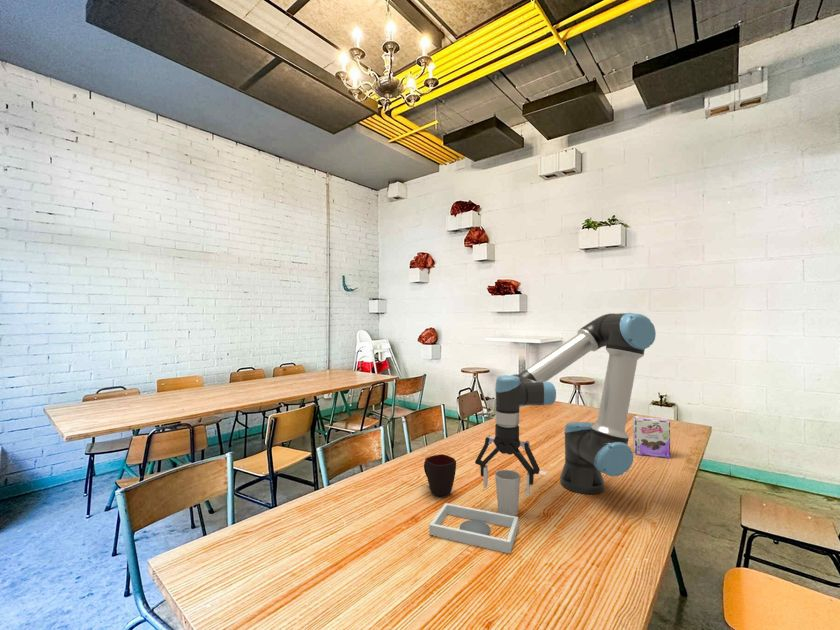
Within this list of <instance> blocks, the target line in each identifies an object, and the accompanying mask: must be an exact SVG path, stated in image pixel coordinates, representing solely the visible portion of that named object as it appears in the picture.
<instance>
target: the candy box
mask: <svg viewBox="0 0 840 630" xmlns="http://www.w3.org/2000/svg"><path fill="white" fill-rule="evenodd" d="M632 439H633V444H632V445H633V446H632V447H633V448H632V449H633V450H632V451H633V454H634V455H637V456H643V457H644V456H647V457H655V458H660V459H661V458H663V459H671V422H670V420H669V419H668V418H661V417H649V416H647V417H646V416H637V415H633V437H632Z"/></svg>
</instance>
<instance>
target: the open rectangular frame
mask: <svg viewBox="0 0 840 630" xmlns="http://www.w3.org/2000/svg"><path fill="white" fill-rule="evenodd" d="M447 516H453V517H458V518H463V519H467V520H468V519H469V520H478V521H482V522H484V523H486V524H492V525H496V526H502V527H505V528H506V527H507V528H510V530H509V533H508V536H507V539H506V538H501V537H497V536H494V535H493V536H492V535H489V536H488V535H483V534H479V533H474V532H470V531H465V530H460V528H455V527H449V526H445V525H440V524H442V523H443V522H444V520H445V519H446V517H447ZM428 525H429V528H428V529H429V535H428V536H431V535H433V536H432V537H435V536H438V537H437V538H439V537H441V538H440V539H444V538H445V539H444V540H448V539H449V540H448V541H453V542H457V541H458V542H457V543H461V542H462V543H461V544H465V543H466V545H470V544H471V546H474V545H475V547H478V546H479V548H484V549H487V550H492V551H495V552H496V551H498V552H500V553H506V554H508V555H509V554H511V552H512V549H513V546H514V542H515V539H516V536H517V533H518V530H519V517H518V516H510V515H505V514H500V513H498V512H494V511H487V510H483V509H478V508H474V507H473V508H472V507H468V506H462V505H457V504H452V503H447V502H445V503H444V504H443V505H442V507H441V508H440V509H439V511H438V512H437V514H436V515H435V516H434V518H433V519H432V521H431V522H430V523H429V524H428Z"/></svg>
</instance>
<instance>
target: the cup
mask: <svg viewBox="0 0 840 630" xmlns="http://www.w3.org/2000/svg"><path fill="white" fill-rule="evenodd" d="M494 477H495V478H494V479H495V486H496V487H495V488H496V500H497V513H500V514H505V515H510V516H515V517H517V516H518V514H519V501H520V483H521V474H520V473H519V472H518V471H515V470H513V469H512V470H511V469H500V470H496V471H495V472H494Z"/></svg>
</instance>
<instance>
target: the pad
mask: <svg viewBox="0 0 840 630" xmlns="http://www.w3.org/2000/svg"><path fill="white" fill-rule="evenodd" d="M459 529H460V530H465V531H470V532H474V533H479V534H483V535H488V536H491V533H492V532H491V530H492V529H491V527H490V525H489V523H487V522H482V521H478V520H472V519H469V520H465V521H463V522H462V523H461V524H460V526H459Z"/></svg>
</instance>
